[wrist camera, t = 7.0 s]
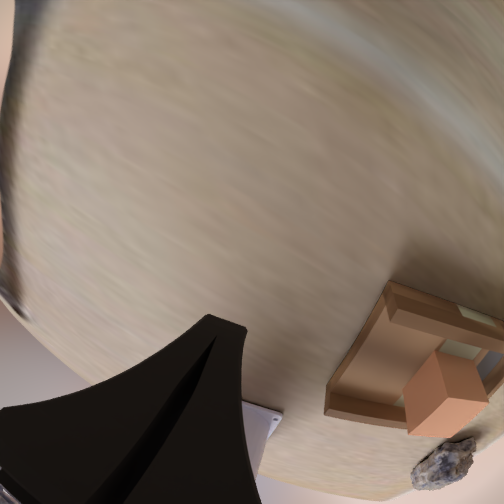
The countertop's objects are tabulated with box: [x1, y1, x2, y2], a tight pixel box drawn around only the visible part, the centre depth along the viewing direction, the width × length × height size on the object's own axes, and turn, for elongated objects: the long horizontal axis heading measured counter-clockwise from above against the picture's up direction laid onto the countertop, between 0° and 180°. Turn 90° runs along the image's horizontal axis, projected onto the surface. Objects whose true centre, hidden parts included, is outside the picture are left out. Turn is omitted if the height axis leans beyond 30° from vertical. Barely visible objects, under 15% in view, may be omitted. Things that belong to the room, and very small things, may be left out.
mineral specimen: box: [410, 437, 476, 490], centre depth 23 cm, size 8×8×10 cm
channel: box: [324, 281, 504, 429], centre depth 17 cm, size 11×16×3 cm
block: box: [402, 350, 489, 438], centre depth 16 cm, size 4×4×4 cm
